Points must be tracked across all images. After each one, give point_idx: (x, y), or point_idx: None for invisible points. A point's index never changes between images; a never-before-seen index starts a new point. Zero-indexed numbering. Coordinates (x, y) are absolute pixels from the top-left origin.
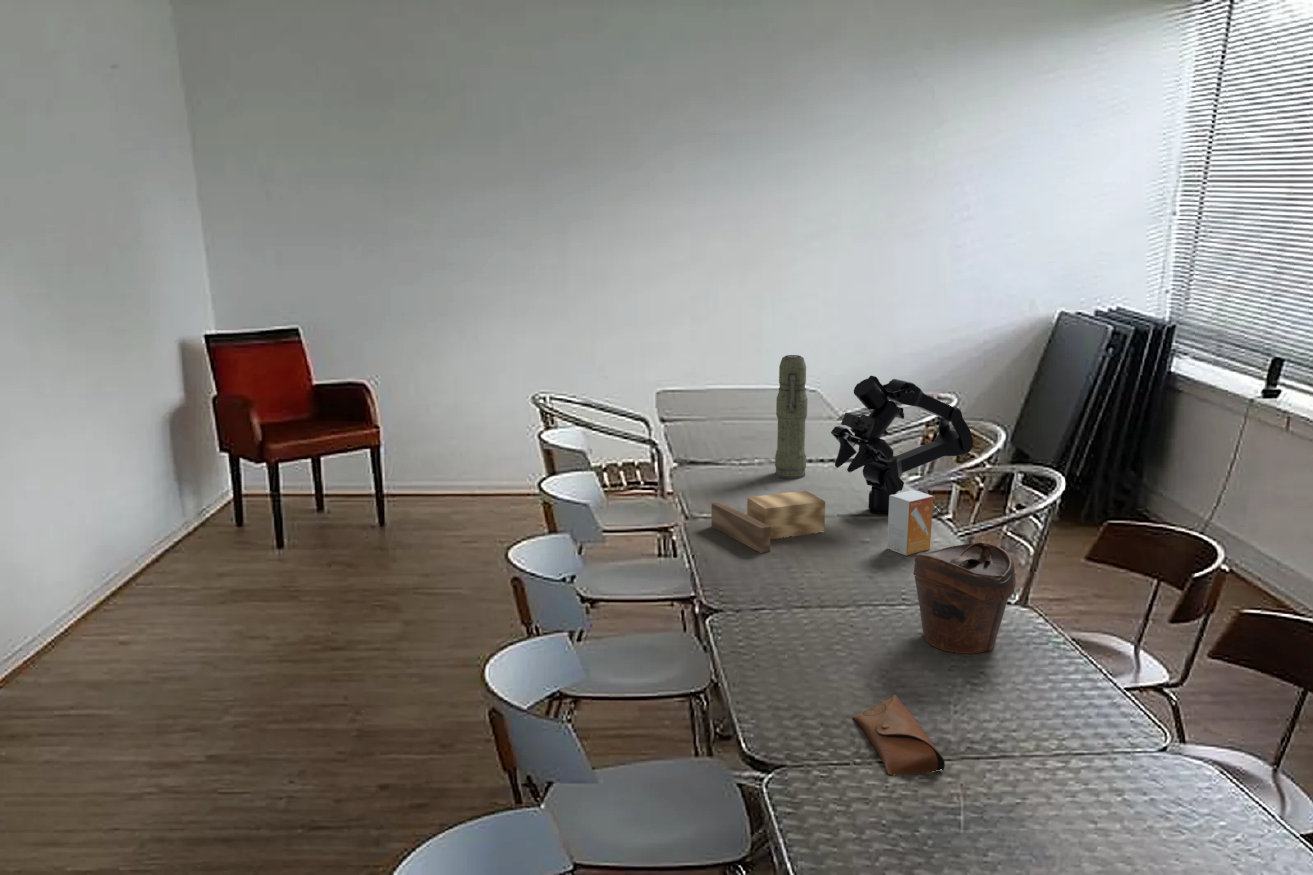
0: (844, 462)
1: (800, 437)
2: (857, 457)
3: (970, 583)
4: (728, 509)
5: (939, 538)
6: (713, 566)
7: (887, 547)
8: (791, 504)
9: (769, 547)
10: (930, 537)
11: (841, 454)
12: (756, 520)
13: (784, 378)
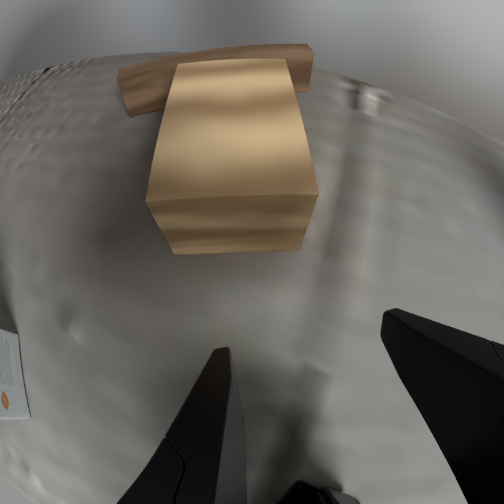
0: (415, 402)
1: None
2: (157, 457)
3: None
4: (256, 48)
5: (41, 492)
6: (130, 62)
7: (14, 333)
8: (174, 107)
9: (128, 110)
10: None
11: (461, 364)
12: (163, 65)
13: None
